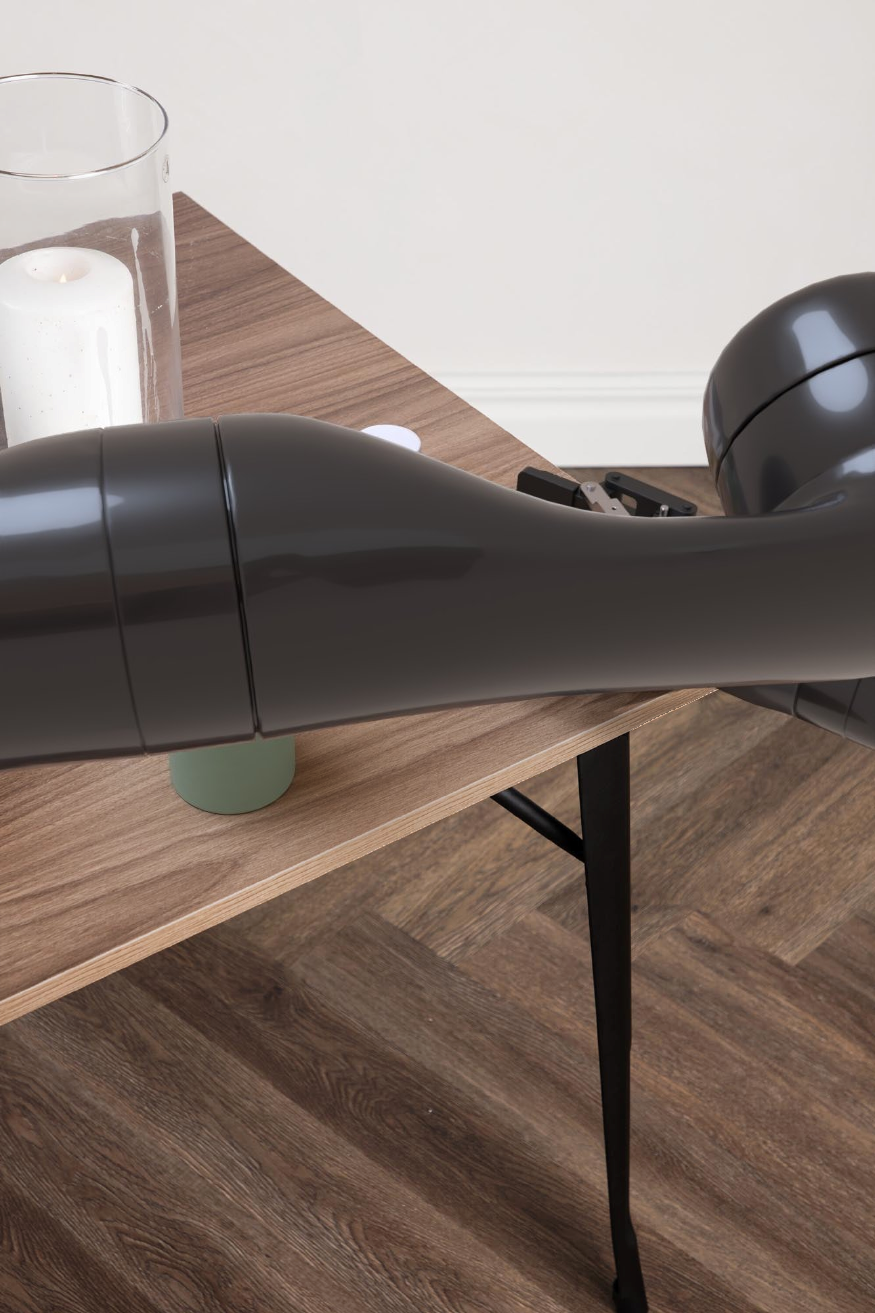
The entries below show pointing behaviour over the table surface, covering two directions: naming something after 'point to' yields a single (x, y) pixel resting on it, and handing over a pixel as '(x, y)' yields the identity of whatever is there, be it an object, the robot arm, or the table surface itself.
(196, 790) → the water bottle
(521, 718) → the table surface
